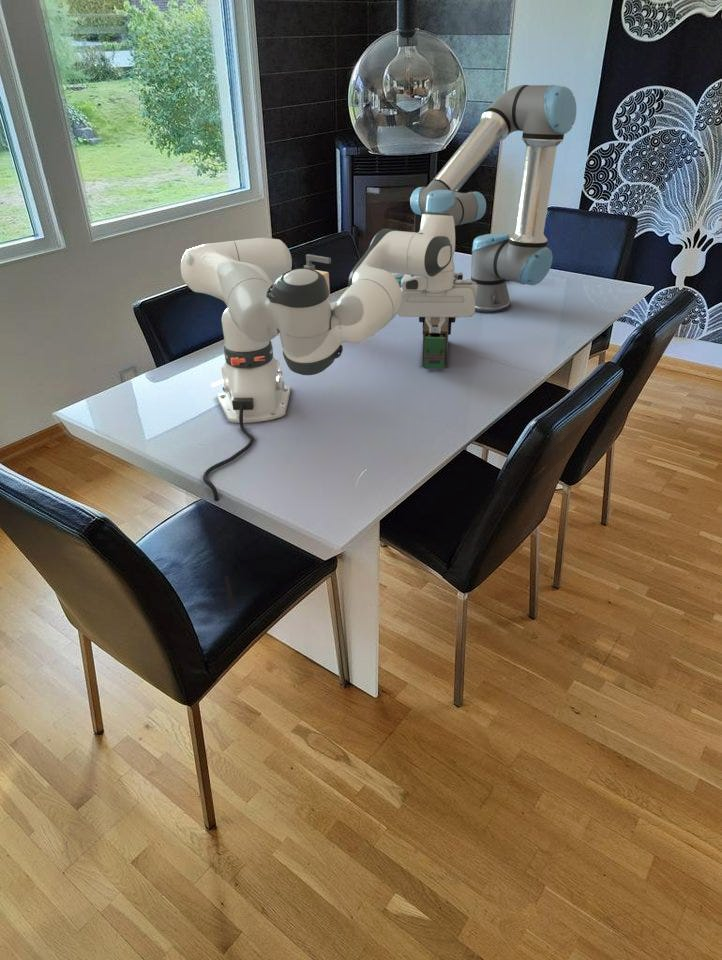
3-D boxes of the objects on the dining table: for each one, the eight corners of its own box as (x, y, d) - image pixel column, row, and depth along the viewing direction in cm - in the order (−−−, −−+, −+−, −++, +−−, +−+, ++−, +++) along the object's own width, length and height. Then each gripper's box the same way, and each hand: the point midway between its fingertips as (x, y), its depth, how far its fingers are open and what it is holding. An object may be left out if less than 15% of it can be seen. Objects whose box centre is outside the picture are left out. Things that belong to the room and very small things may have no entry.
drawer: (443, 376, 179) (444, 345, 174) (423, 375, 179) (423, 345, 175) (445, 344, 197) (446, 315, 193) (427, 343, 198) (427, 315, 194)
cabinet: (446, 367, 186) (447, 331, 180) (422, 366, 187) (423, 331, 181) (448, 342, 201) (449, 308, 196) (425, 341, 202) (426, 308, 196)
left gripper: (478, 275, 169) (475, 328, 177) (397, 275, 172) (397, 327, 179) (478, 283, 164) (475, 337, 171) (395, 283, 167) (395, 336, 174)
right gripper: (475, 248, 185) (470, 328, 197) (404, 248, 187) (404, 327, 200) (475, 255, 179) (470, 338, 191) (402, 255, 181) (402, 337, 194)
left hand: (434, 332), depth 175 cm, fingers closed
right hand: (436, 332), depth 195 cm, fingers closed on cabinet, 7 cm apart
